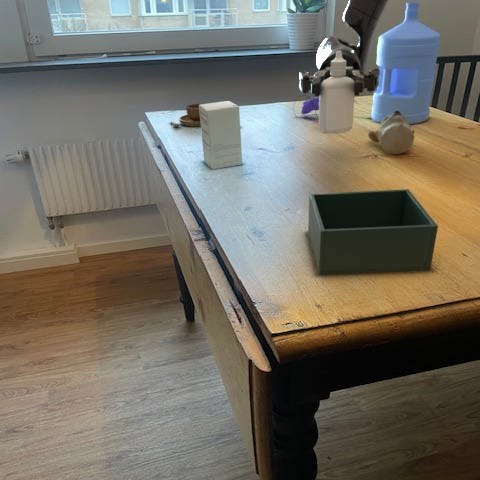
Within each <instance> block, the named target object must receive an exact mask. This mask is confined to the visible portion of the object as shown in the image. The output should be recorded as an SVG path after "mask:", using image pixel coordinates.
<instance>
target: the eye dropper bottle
mask: <svg viewBox="0 0 480 480" xmlns="http://www.w3.org/2000/svg"><path fill="white" fill-rule="evenodd" d="M345 74H346V60H344V59H343V58H342V52H341V51H337V53H336V57H335V59H334V60H332V61H331V69H330V75H332V76H331V77H329V78H328V79H326V80H324V81H323V82H322V83H321V85H320V96H319V97H318V98H319V110H318V131H319V132H320V133H322V134H324V135H334V134H343V133H346V132H350V131H351V130H352V129H353V127H354V126H353V125H354V112H355V111H354V110H355V108H354V107H355V96H354V91H355V82H354V80H353V79H351V78H349V77H346V76H345Z"/></svg>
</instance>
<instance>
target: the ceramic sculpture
mask: <svg viewBox="0 0 480 480" xmlns="http://www.w3.org/2000/svg"><path fill="white" fill-rule="evenodd" d="M368 131H369V132H368V138H369V140H370V141H372V142H373V143H377V144H379V143H380V146H381V148H382V150H383V152H385V153H386V154H389V155H390V154H391V155H400V154H405V153H406V152H408V151H409V149H410V148H411V147H412V145H413V143H414V140H415V129H414V130H412V128H411V125H409V123H408V122H407V120H406V119H405V117H404V116H403V115H402V114H401V113H400V112H399V111H395V112H394V113H393V114H392V115H390V116H387V117H386V118H384V119H383V120H382V122H381V123H379V126H378V128H377V130H376V131H374V130H368Z"/></svg>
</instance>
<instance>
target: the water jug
mask: <svg viewBox="0 0 480 480" xmlns="http://www.w3.org/2000/svg"><path fill="white" fill-rule="evenodd" d="M405 6H406V9H405V11H404V14H405V15H404V20H403V22H401V23H400V24H397V25H396V26H394V27H393V28H391V29H389V30H387V31H386V32H384V33H382V34H380V36H378V43H377V46H376V63H375V64H376V65H377V66H378V68H379V69H380V75H379V85H378V87H377V88H376V89H375V90H374V91H373V98H372V109H371V113H370V114H371V115H370V116H371V119H372V120H373V121H374V122H376V123H378V124H381V122H382V120H383V119H384V118H386V117H387V116H390V115H392V114H393V113H394V112H395V111H399V112H400V113H401V114H402V115H403V116H404V117H405V119H406V120H407V122H408V123H409V125H410V126H411V125H417V124H421V123H424V122H425V121H427V120H428V119H429V116H430V112H431V111H430V110H431V109H430V107H431V101H432V93H433V87H434V84H435V73H436V67H437V66H436V65H437V60H438V53H439V50H440V44H441V43H440V42H441V41H440V40H441V34H440V33H439V32H437V31H435V30H434V29H432V28H430V27H428V26H427V25H425V24H424V23H421V22H419V20H418V17H419V11H420V10H419V7H420V2H419V1H418V2H415V1H414V2H406V3H405Z"/></svg>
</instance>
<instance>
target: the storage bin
mask: <svg viewBox="0 0 480 480" xmlns="http://www.w3.org/2000/svg"><path fill="white" fill-rule="evenodd" d="M307 225H308V227H307V229H308V231H307V234H308V238H309V241H310V246H311V249H312V254H313V257H314V261H315V265H316V269H317V272H318V275H319V276H330V275H333V276H334V275H355V274H379V273H380V274H382V273H403V272H405V273H407V272H425V271H426V272H428V271H431V267H432V261H433V257H434V252H435V245H436V239H437V235H438V234H437V233H438V228H439V225H438V224H437V223H436V222H435V220H434V219H433V218H432V216H431V215H430V214H429V213H428V212H427V210H426V209H425V208H424V207H423V205H422V204H421V203H420V202H419V200H418V199H417V198H416V196H415V194H413V193H412V192H411V191H410V189H409V188H406V189H405V188H404V189H403V188H402V189H387V190H386V189H385V190H365V191H363V190H362V191H342V192H323V193H322V192H321V193H309V194H308V224H307Z"/></svg>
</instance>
